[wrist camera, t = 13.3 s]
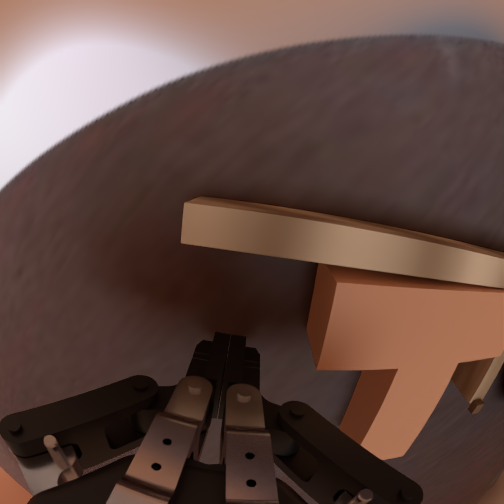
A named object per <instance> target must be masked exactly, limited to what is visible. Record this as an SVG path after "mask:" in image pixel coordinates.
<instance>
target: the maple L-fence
mask: <svg viewBox="0 0 504 504" xmlns="http://www.w3.org/2000/svg"><path fill="white" fill-rule="evenodd" d="M181 243H183V244H190V245H197V246H204V247H211V248H218V249H225V250H232V251H239V252H246V253H253V254H260V255H267V256H274V257H282V258H289V259H296V260H303V261H310V262H317V263H324V264H331V265H338V266H346V267H353V268H360V269H367V270H374V271H381V272H388V273H396V274H403V275H410V276H417V277H424V278H431V279H439V280H446V281H453V282H460V283H468V284H475V285H482V286H489V287H496V288H504V253H503V252H499V251H495V250H491V249H488V248H484V247H480V246H476V245H472V244H468V243H464V242H460V241H455V240H451V239H447V238H443V237H438V236H434V235H430V234H425V233H421V232H416V231H411V230H407V229H402V228H397V227H392V226H387V225H382V224H377V223H372V222H367V221H362V220H356V219H351V218H345V217H340V216H334V215H328V214H323V213H317V212H311V211H305V210H298V209H292V208H286V207H279V206H272V205H266V204H259V203H252V202H244V201H237V200H229V199H221V198H213V197H205V196H200V197H197V198H195V199H192V200H190V201H187V202H185V203H184V210H183V221H182V233H181ZM503 363H504V350H503V352H502V354H501V356H498V357H493V358H487V359H481V360H475V361H468V362H461V363H458V365H457V367H456V369H455V371H454V373H453V375H452V377H451V380H452V381H453V382H454V384H455V385H456V386H457V388H458V389H459V390H460V392H461V393H462V394H463V396H464V397H465V398H466V400H467V401H468V403H471V402H472V403H471V405H470V406H469V408H468V410H469V411H470V413H471V414H475V413H478V412H479V411H480V410H481V408H482V407H483V405H484V402H483V401H482V399H483V398H484V396H485V394H486V393H487V391H488V390H489V388H490V386H491V384H492V383H493V381H494V379H495V377H496V376H497V374H498V372H499V370H500V368H501V366H502V364H503Z"/></svg>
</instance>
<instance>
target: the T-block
mask: <svg viewBox="0 0 504 504" xmlns="http://www.w3.org/2000/svg"><path fill="white" fill-rule="evenodd" d="M306 331H307V335H308V338H309V342H310V346H311V350H312V354H313V357H314V361H315V365H316V369H317V370H362V372H361V375H360V378H359V380H358V383H357V385H356V388H355V391H354V393H353V396H352V398H351V401H350V403H349V405H348V408H347V410H346V413H345V415H344V417H343V419H342V422H341V424H340V426H339V428H340V430H341V431H342V432H343V433H345V434H346V435H347V436H349V437H350V438H351V439H353V440H354V441H355V442H357V443H358V444H359V445H361V446H362V447H364V448H365V449H366V450H368V451H369V452H371V453H372V454H374V455H375V456H376V457H378V458H379V459H381V460H385V459H390V458H396V457H401V456H403V455H404V454H405V453H406V451H407V450H408V448H409V447H410V446H411V444H412V443H413V441H414V440H415V438H416V437H417V435H418V434H419V432H420V431H421V429H422V428H423V426H424V425H425V423H426V422H427V420H428V418H429V417H430V415H431V413H432V412H433V410H434V408H435V407H436V405H437V403H438V401H439V400H440V398H441V396H442V394H443V392H444V391H445V389H446V387H447V385H448V383H449V381H450V379H451V377H452V375H453V373H454V371H455V369H456V367H457V365H458V363H461V362H468V361H475V360H481V359H487V358H493V357H498V356H501V354H502V352H503V350H504V288H496V287H489V286H482V285H475V284H468V283H460V282H453V281H446V280H439V279H431V278H424V277H417V276H410V275H403V274H396V273H388V272H381V271H374V270H367V269H360V268H353V267H346V266H338V265H331V264H324V263H318V268H317V274H316V279H315V285H314V291H313V296H312V302H311V307H310V312H309V317H308V322H307V327H306Z"/></svg>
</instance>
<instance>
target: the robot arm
mask: <svg viewBox="0 0 504 504" xmlns="http://www.w3.org/2000/svg"><path fill="white" fill-rule="evenodd" d="M229 340H230V334H225V333H219V332H215V336H214V339H213V342H212V341H207V340H202V341H201V342H200V343H199V344H197V346H196V349H195V352H194V354H193V358H192V360H191V363H190V366H189V368H188V371H187V374H186V377H184V378H182V379H181V380H180V381H179V383H178V384H177V385H174V386H158V384H157V383H156V381H155V380H153V379H152V378H150V377H148V376H143V375H136V376H132V377H129V378H126V379H124V380H121V381H118V382H115V383H112V384H110V385H107V386H104V387H101V388H98V389H95V390H92V391H89V392H86V393H83V394H80V395H77V396H73V397H70V398H67V399H64V400H61V401H57V402H54V403H51V404H47V405H44V406H40V407H37V408H33V409H29V410H26V411H22V412H18V413H14V414H10V415H7V416H6V417H4V418H3V419H2V420H1V422H0V434H1V436H2V438H3V439H4V441H5V442H6V444H7V445H8V448H9V450H10V451H11V453H12V454H13V456H14V457H15V458H16V460H17V461H18V464H19V466H20V468H21V471H22V473H23V475H24V478H25V480H26V482H27V484H28V486H29V489H30V491H31V493H32V495H33V497H32V498H31V499H30V501H29V502H28V503H27V504H308V503H307V502H306V501H305V500H303V499H302V498H301V497H300V496H299V495H298V494H297V493H296V492H295V491H294V490H293V489H292V488H291V487H290V486H289V485H287V484H286V483H285V482H283V481H282V480H280V479H278V478H276V477H275V469H274V463H275V464H276V465H277V466H278V467H279V468H280V469H281V470H282V471H283V472H284V473H285V474H286V475H287V476H288V477H289V478H291V479H292V480H293V481H294V482H295V483H296V484H297V485H298V486H299V487H300V488H301V489H303V490H304V491H305V492H306V493H307V494H308V495H309V496H311V497H312V498H313V499H314V500H315V501H316V502H318V503H319V504H420V503H421V502H422V500H423V491H422V489H421V487H420V486H419V485H418V484H417V483H416V482H414V481H413V480H411V479H409V478H408V477H406V476H405V475H403V474H402V473H400V472H399V471H397V470H396V469H394V468H392V467H391V466H390V465H388V464H387V463H385V462H384V461H382V460H381V459H379V458H378V457H376V456H375V455H374V454H372V453H371V452H369V451H368V450H366V449H365V448H364V447H362V446H361V445H359V444H358V443H357V442H355V441H354V440H353V439H351V438H350V437H349V436H347V435H346V434H345V433H343V432H342V431H341V430H339V429H338V428H337V427H335V426H334V425H333V424H331V423H330V422H329V421H328V420H326V419H325V418H324V417H322V416H321V415H320V414H319V413H317V412H316V411H315V410H314V409H312V408H311V407H310V406H309V405H307V404H305V403H303V402H299V401H289V402H286V403H284V404H283V405H282V406H279V405H276V404H273V403H271V402H269V401H267V400H266V399H265V398H264V397H263V396H262V395H261V393H260V389H259V387H260V354H259V353H258V351H257V350H256V348H250V347H245V346H246V337H244V336H238V335H231V341H230V346H229ZM228 347H229V352H228ZM227 354H228V357H227ZM226 361H227V363H226ZM225 368H226V369H225ZM223 379H224V380H223ZM222 385H223V387H222ZM221 391H222V394H221ZM220 396H221V402H220ZM219 402H220V409H219V416H218V419H223V420H222V427H221V433H220V456H219V464H210V465H209V464H204V463H201V462H199V459H200V456H201V453H202V450H203V446H204V443H205V440H206V437H207V434H208V429H209V426H210V424H211V419H212V418H217V413H218V408H219ZM138 446H140V447H139V449H138V451H137V453H136V454H134V455H129V456H126V457H123V458H121V459H119V460H117V461H114V462H112V463H110V464H108V465H106V466H104V467H102V468H99V469H97V470H95V471H93V472H90V473H88V474H86V475H83V476H82V474H83V470H84V469H87V468H89V467H92V466H94V465H97V464H99V463H102V462H104V461H107V460H109V459H112V458H114V457H116V456H119V455H121V454H123V453H125V452H128V451H130V450H132V449H134V448H136V447H138Z"/></svg>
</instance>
